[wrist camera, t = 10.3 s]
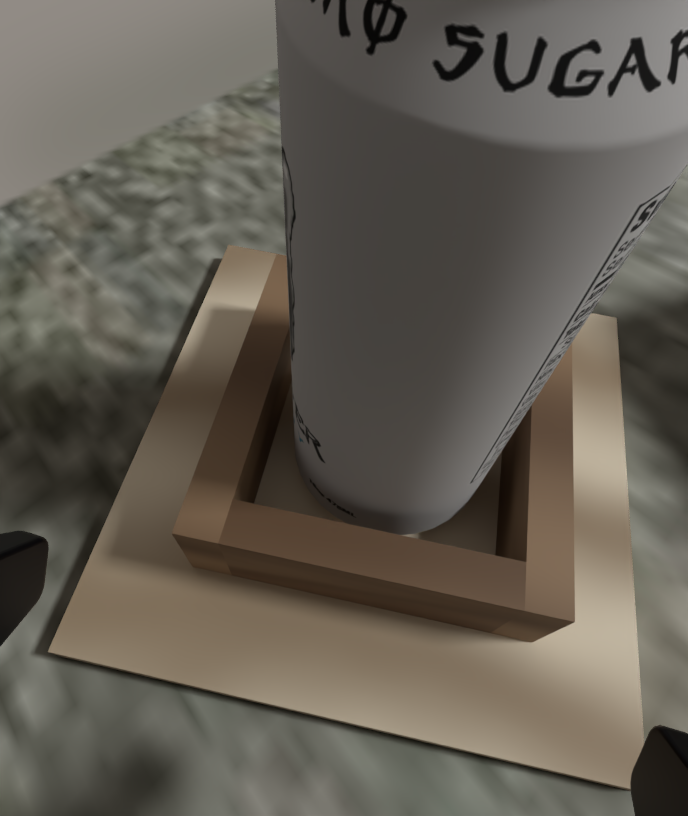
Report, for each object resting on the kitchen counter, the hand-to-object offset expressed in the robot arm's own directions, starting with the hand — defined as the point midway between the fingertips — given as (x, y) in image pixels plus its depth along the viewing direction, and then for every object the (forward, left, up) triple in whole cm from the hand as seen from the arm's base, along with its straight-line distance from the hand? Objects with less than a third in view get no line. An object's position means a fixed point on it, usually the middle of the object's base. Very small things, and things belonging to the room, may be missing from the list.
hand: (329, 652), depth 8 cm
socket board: (+8, -1, -9) cm, 12 cm away
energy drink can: (+7, -1, -8) cm, 11 cm away
